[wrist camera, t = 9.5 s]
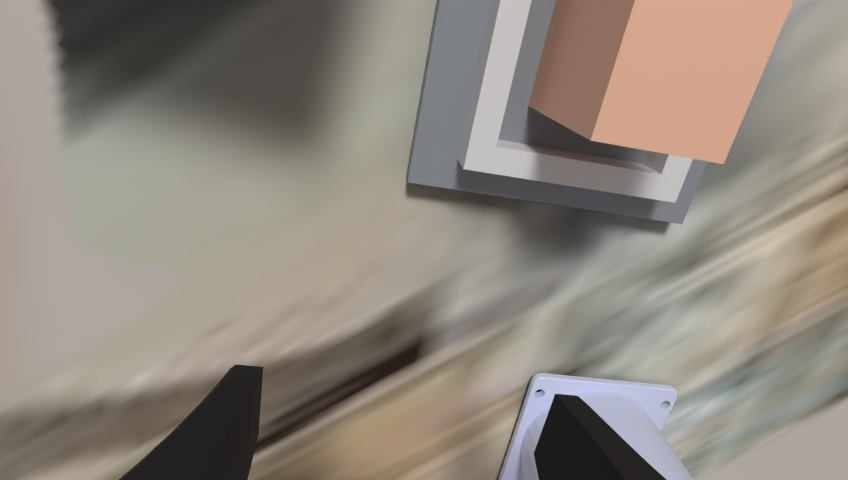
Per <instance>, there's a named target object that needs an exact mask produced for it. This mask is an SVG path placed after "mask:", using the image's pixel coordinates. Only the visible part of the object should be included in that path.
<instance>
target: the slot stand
mask: <svg viewBox="0 0 848 480" xmlns="http://www.w3.org/2000/svg"><path fill="white" fill-rule="evenodd" d="M555 1H556V0H437V3H436V9H435V14H434V20H433V26H432V31H431V37H430V43H429V49H428V54H427V60H426V66H425V72H424V77H423V83H422V89H421V94H420V100H419V106H418V112H417V117H416V123H415V129H414V135H413V140H412V146H411V152H410V157H409V163H408V169H407V175H406V176H407V181H408V183H414V184H421V185H428V186H434V187H441V188H447V189H454V190H460V191H467V192H474V193H480V194H487V195H493V196H500V197H507V198H513V199H520V200H526V201H533V202H540V203H546V204H553V205H559V206H566V207H572V208H579V209H586V210H592V211H599V212H605V213H612V214H619V215H625V216H632V217H638V218H645V219H651V220H658V221H665V222H671V223H678V224H682V223H683V221H684V218H685V216H686V213H687V211H688V209H689V206H690V204H691V201H692V199H693V196H694V194H695V192H696V189H697V187H698V184H699V182H700V180H701V177H702V175H703V172H704V170H705V167H706V165H707V163H708V161H703V160H698V159H692V158H686V157H681V156H675V155H669V154H664V153H658V152H652V151H647V150H641V149H635V148H630V147H624V146H618V145H613V144H607V143H601V142H596V141H590V140H589V139H587V138H585V137H583V136H581V135H580V134H578V133H576V132H574V131H572V130H571V129H569V128H567V127H565V126H563V125H562V124H560V123H558V122H556V121H554V120H553V119H551V118H549V117H547V116H545V115H544V114H542V113H540V112H538V111H536V110H535V109H533V108H531V107H529V106H528V105H529V101H530V97H531V93H532V89H533V86H534V82H535V78H536V74H537V70H538V66H539V63H540V59H541V55H542V51H543V47H544V43H545V40H546V36H547V32H548V28H549V24H550V20H551V17H552V13H553V9H554V5H555Z"/></svg>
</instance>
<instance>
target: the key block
mask: <svg viewBox="0 0 848 480" xmlns="http://www.w3.org/2000/svg"><path fill="white" fill-rule="evenodd" d="M793 1H794V0H556V1H555V5H554V9H553V13H552V17H551V20H550V24H549V28H548V32H547V36H546V40H545V43H544V47H543V51H542V55H541V59H540V63H539V66H538V70H537V74H536V78H535V82H534V86H533V89H532V93H531V97H530V101H529V105H528V106H529V107H531V108H533V109H535V110H536V111H538V112H540V113H542V114H544V115H545V116H547V117H549V118H551V119H553V120H554V121H556V122H558V123H560V124H562V125H563V126H565V127H567V128H569V129H571V130H572V131H574V132H576V133H578V134H580V135H581V136H583V137H585V138H587V139H589V140H590V141H596V142H601V143H607V144H613V145H618V146H624V147H630V148H635V149H641V150H647V151H652V152H658V153H664V154H669V155H675V156H681V157H686V158H692V159H698V160H703V161H709V162H715V163H720V164H724V162H725V159H726V157H727V155H728V152H729V150H730V148H731V145H732V143H733V141H734V139H735V136H736V134H737V132H738V129H739V127H740V125H741V122H742V120H743V118H744V115H745V113H746V111H747V108H748V106H749V104H750V101H751V99H752V97H753V94H754V92H755V90H756V87H757V85H758V83H759V80H760V78H761V76H762V73H763V71H764V69H765V66H766V64H767V62H768V59H769V57H770V55H771V52H772V50H773V48H774V45H775V43H776V41H777V38H778V36H779V34H780V31H781V29H782V27H783V24H784V22H785V20H786V17H787V15H788V13H789V10H790V8H791V6H792V3H793Z"/></svg>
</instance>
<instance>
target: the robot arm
mask: <svg viewBox="0 0 848 480" xmlns="http://www.w3.org/2000/svg"><path fill="white" fill-rule="evenodd" d="M262 374H263V367H256V366H245V365H235V366H233V367H232V368H230V370H229V371H228V372H227V373H226V375H225V376H224V377H223V378H222V379H221V381H220V382H219V383H218V384H217V385H216V386H215V388H214V389H213V390H212V391H211V392H210V393H209V394H208V395H207V396H206V398H205V399H204V400H203V401H202V402H201V403H200V404H199V405H198V406H197V407H196V408H195V409H194V410H193V411H192V412H191V413H190V414H189V415H188V416H187V418H186V419H185V420H184V421H183V422H182V423H181V424H180V425H179V426H178V427H177V428H176V429H175V430H174V431H173V432H172V433H171V434H170V435H168V436H167V437H166V438H165V439H164V440H163V441H162V442H161V443H160V444H159V445H158V446H157V447H155V448H154V449H153V450H152V451H151V452H150V453H149V454H148V455H147V456H146V457H145V458H144V459H142V460H141V461H140V462H139V463H138V464H137V465H135V466H134V467H133V468H132V469H131V470H130V471H128V472H127V473H126V474H125V475H124V476H122V477H121V478H120V479H119V480H247V478H248V475H249V471H250V467H251V463H252V459H253V455H254V450H255V446H256V442H257V438H258V432H259V417H260V403H261V388H262ZM540 389H542V390H541V391H540V392H536V391H537V390H540ZM677 396H678V394H677V391H676V390H675V389H674V388H673V387H672V386H669V385H660V384H650V383H639V382H629V381H619V380H608V379H598V378H588V377H578V376H567V375H557V374H547V373H539V374H536V375H535V376H534V377H533V378H532V379H531V382H530V385H529V388H528V391H527V394H526V397H525V400H524V403H523V406H522V409H521V412H520V415H519V418H518V421H517V424H516V427H515V430H514V433H513V436H512V439H511V442H510V445H509V448H508V451H507V454H506V457H505V460H504V463H503V466H502V470H501V473H500V476H499V479H498V480H694V479H693V478H692V476H691V475H690V473H689V472H688V470H687V469H686V468H685V466H684V465H683V463H682V462H681V460H680V459H679V457H678V456H677V455H676V453H675V452H674V450H673V449H672V447H671V446H670V444H669V443H668V441H667V440H666V439H665V437H664V436H663V434H662V433H661V430H662V428H663V426H664V424H665V422H666V420H667V417H668V415H669V413H670V411H671V409H672V407H673V405H674V403H675V401H676V399H677ZM664 401H665V402H664ZM662 402H663V403H662Z"/></svg>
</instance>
